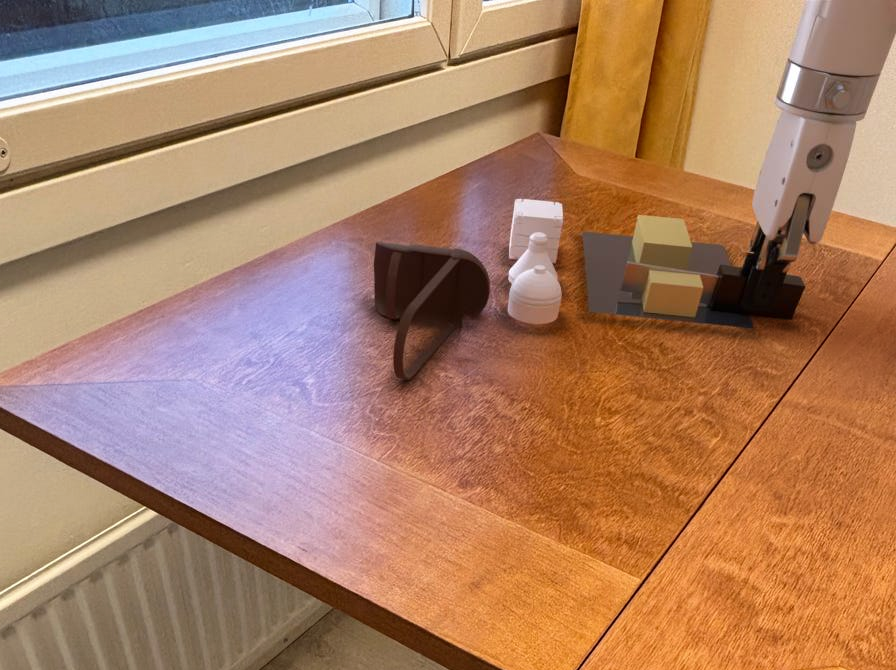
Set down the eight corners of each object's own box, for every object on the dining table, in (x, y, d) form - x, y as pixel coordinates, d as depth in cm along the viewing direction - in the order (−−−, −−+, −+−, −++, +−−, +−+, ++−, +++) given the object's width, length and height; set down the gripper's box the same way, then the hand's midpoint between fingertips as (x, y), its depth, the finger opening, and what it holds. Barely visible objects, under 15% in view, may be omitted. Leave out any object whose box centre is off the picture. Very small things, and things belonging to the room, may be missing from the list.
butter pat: (691, 304, 89) (700, 274, 87) (695, 318, 87) (703, 287, 84) (641, 299, 89) (648, 269, 87) (643, 312, 87) (651, 282, 85)
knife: (786, 310, 89) (800, 276, 87) (791, 321, 88) (805, 286, 85) (619, 284, 89) (629, 249, 87) (620, 295, 88) (630, 259, 85)
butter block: (676, 246, 99) (684, 218, 97) (684, 276, 94) (692, 247, 92) (631, 242, 99) (638, 214, 97) (637, 271, 94) (644, 242, 92)
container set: (507, 249, 98) (514, 197, 95) (554, 254, 98) (563, 201, 94) (503, 331, 84) (511, 273, 80) (558, 337, 84) (569, 279, 80)
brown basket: (373, 297, 88) (375, 225, 83) (490, 313, 87) (498, 241, 82) (327, 386, 75) (327, 306, 70) (463, 406, 74) (472, 327, 69)
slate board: (720, 253, 101) (723, 244, 101) (751, 338, 86) (754, 328, 86) (580, 239, 102) (582, 230, 101) (586, 321, 87) (588, 311, 86)
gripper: (896, 122, 69) (807, 344, 82) (847, 71, 81) (776, 273, 94) (799, 112, 69) (726, 335, 82) (764, 63, 81) (705, 266, 94)
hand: (753, 300), depth 88 cm, fingers closed on knife, 2 cm apart
